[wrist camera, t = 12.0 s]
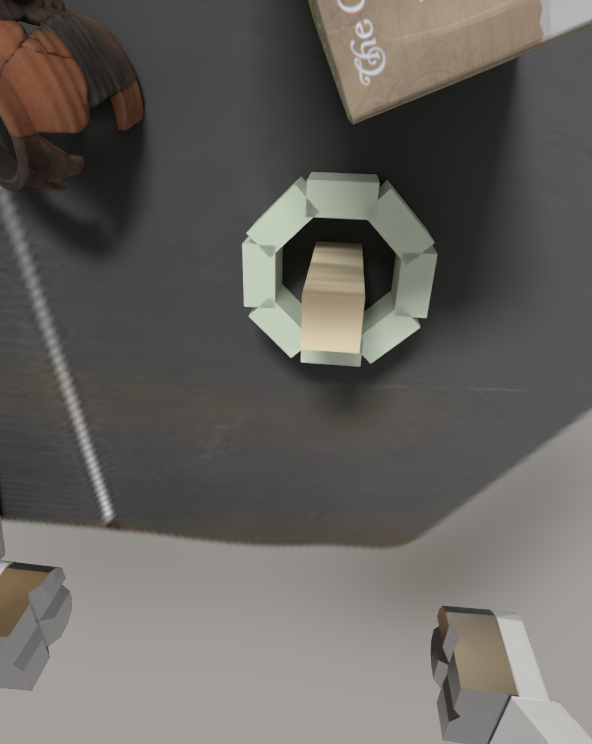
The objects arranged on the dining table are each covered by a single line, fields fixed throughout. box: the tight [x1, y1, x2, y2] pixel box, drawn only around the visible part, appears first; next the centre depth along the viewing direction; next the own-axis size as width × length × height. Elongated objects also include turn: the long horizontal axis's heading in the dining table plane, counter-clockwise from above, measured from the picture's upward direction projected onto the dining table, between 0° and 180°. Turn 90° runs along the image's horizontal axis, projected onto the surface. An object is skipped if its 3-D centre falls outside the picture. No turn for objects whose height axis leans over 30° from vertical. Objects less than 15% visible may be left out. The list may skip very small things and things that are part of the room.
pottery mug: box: [0, 0, 143, 192], centre depth 26 cm, size 12×10×8 cm
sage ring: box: [242, 172, 438, 367], centre depth 31 cm, size 12×12×4 cm
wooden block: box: [300, 241, 365, 353], centre depth 28 cm, size 3×3×10 cm
